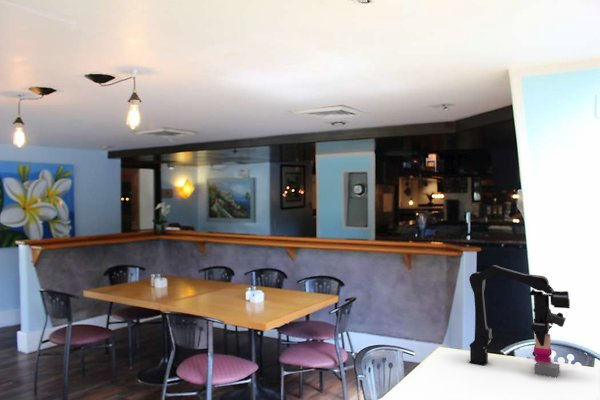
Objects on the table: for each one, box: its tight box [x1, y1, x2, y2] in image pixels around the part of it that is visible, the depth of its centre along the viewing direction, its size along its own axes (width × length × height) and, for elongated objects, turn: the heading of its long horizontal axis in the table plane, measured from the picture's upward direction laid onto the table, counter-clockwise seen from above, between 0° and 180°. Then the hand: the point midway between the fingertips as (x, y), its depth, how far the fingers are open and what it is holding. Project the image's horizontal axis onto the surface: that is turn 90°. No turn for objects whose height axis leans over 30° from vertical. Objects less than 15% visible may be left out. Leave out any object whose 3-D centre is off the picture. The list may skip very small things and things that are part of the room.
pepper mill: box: [533, 323, 553, 363], centre depth 212 cm, size 7×7×20 cm
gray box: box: [534, 361, 560, 379], centre depth 194 cm, size 8×7×4 cm
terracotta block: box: [534, 333, 552, 349], centre depth 195 cm, size 5×5×5 cm
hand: (543, 344), depth 195 cm, fingers closed on terracotta block, 5 cm apart
